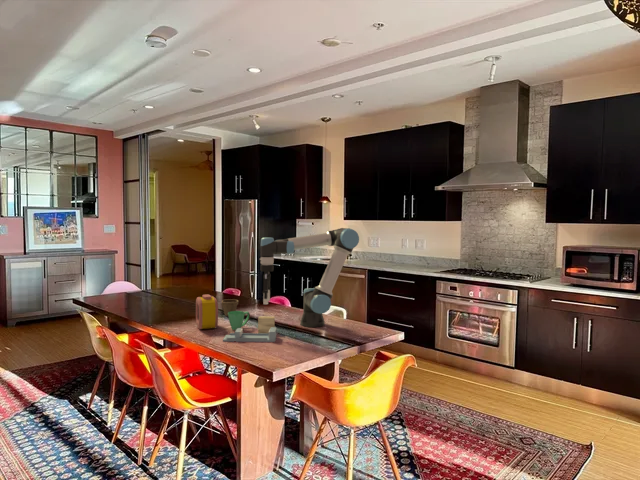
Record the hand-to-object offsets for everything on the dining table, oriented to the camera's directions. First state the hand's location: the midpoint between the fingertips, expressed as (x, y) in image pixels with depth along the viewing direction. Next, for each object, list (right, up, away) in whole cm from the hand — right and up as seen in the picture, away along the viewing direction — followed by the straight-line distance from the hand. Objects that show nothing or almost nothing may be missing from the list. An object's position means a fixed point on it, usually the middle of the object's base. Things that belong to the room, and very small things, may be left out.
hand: (266, 302), depth 265 cm
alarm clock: (-38, -17, +11) cm, 43 cm away
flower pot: (-30, -15, +45) cm, 56 cm away
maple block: (0, -18, +1) cm, 18 cm away
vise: (-7, -18, -14) cm, 24 cm away
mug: (-17, -17, +9) cm, 26 cm away
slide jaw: (-14, -17, -14) cm, 26 cm away
